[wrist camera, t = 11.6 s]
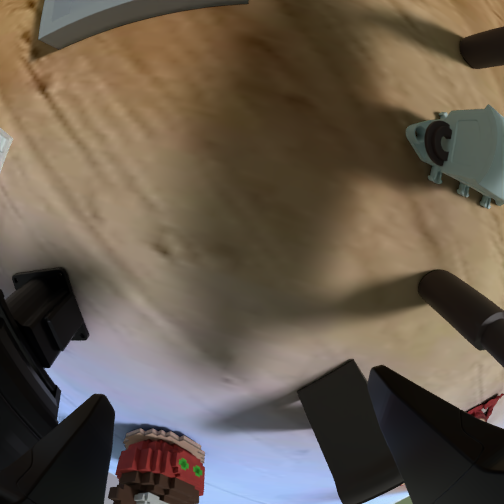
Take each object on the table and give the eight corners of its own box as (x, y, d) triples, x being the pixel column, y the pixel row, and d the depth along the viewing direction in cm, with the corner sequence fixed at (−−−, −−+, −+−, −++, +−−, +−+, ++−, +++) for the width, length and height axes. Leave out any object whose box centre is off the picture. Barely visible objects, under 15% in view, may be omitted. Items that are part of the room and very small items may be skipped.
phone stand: (296, 389, 24) (327, 501, 13) (353, 357, 23) (409, 463, 12) (332, 426, 27) (362, 512, 16) (379, 400, 26) (421, 482, 15)
